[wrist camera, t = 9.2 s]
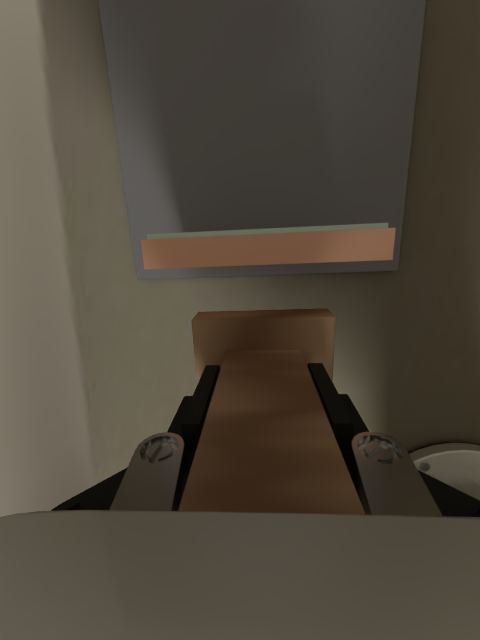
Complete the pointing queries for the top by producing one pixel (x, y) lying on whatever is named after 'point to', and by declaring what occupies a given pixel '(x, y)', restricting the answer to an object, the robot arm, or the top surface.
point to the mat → (263, 118)
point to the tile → (269, 246)
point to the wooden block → (267, 417)
